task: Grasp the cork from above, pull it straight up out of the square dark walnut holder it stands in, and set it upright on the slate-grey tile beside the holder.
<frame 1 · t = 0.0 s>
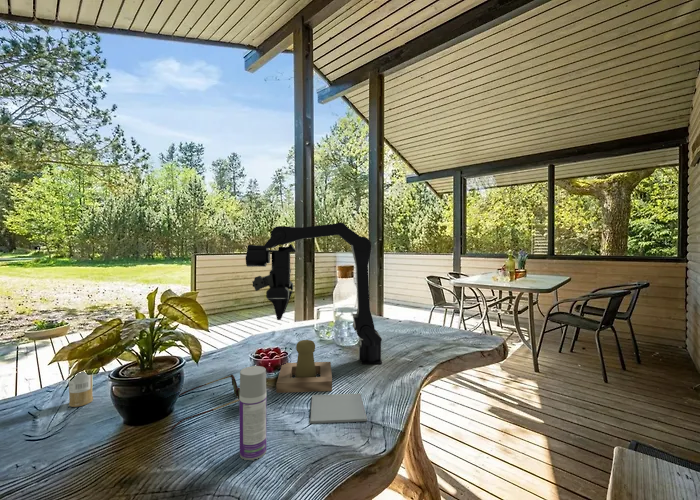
hand: (280, 316, 105), 15 cm above the table, tool pointing down, fingers open, 9 cm apart
holder: (305, 380, 92), on the table
tile: (337, 408, 77), on the table
sprinkles bottle: (80, 403, 79), on the table
cork: (305, 381, 93), resting in holder
sunglasses: (205, 411, 77), on the table
container: (253, 453, 61), on the table
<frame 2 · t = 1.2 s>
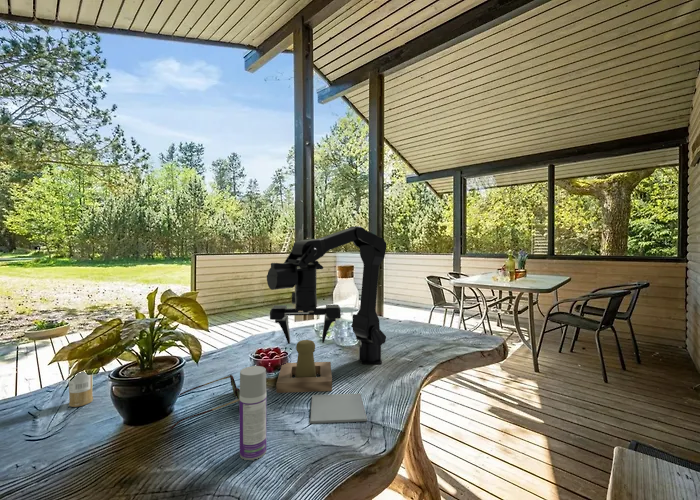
hand: (306, 343, 92), 10 cm above the table, tool pointing down, fingers open, 9 cm apart
nothing on the table moved.
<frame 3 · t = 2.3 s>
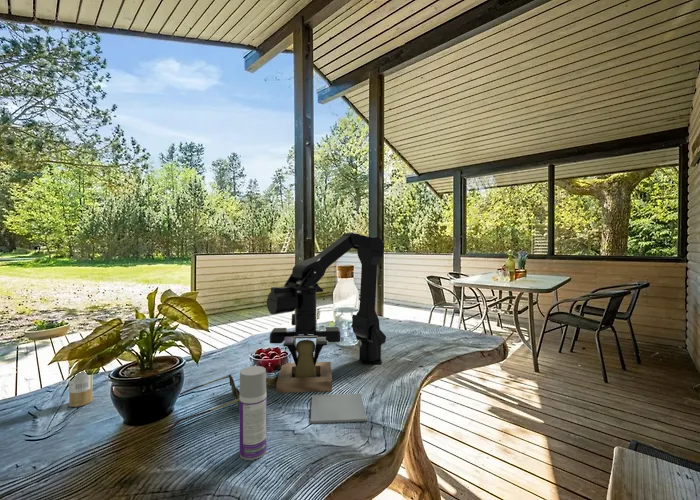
hand: (305, 366, 92), 4 cm above the table, tool pointing down, fingers closed on cork, 4 cm apart
cork: (305, 381, 93), resting in holder, touching gripper
everything else where it was.
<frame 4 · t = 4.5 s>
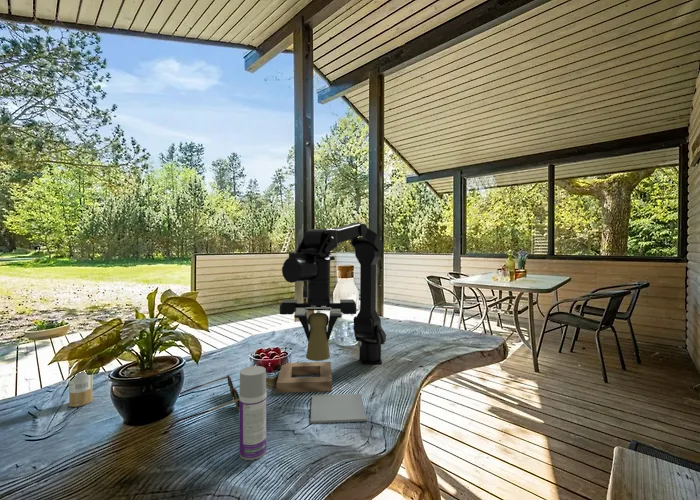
hand: (318, 340, 85), 13 cm above the table, tool pointing down, fingers closed on cork, 4 cm apart
cork: (318, 357, 85), point 9 cm above the table, touching gripper
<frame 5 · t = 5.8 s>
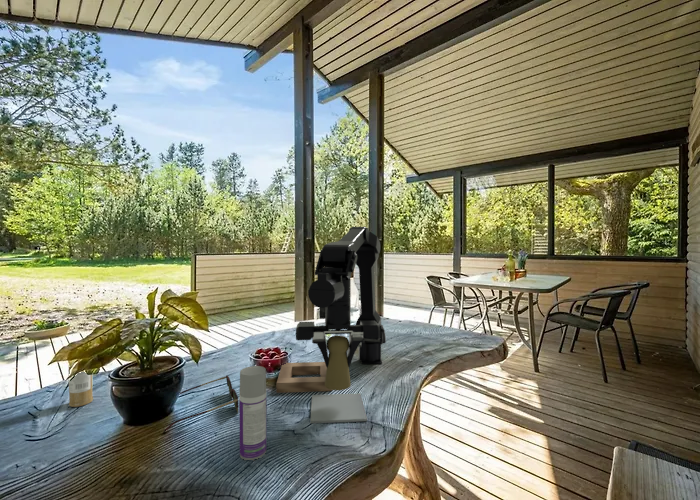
hand: (337, 367, 77), 9 cm above the table, tool pointing down, fingers closed on cork, 4 cm apart
cork: (337, 385, 77), point 5 cm above the table, touching gripper
when the fingers open (5 cm above the table, at t = 6.8 s): cork stays where it is, resting on tile.
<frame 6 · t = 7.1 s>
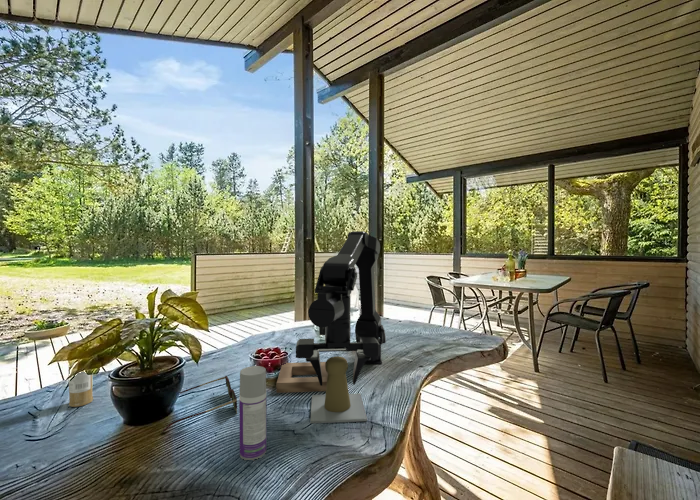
hand: (337, 384, 77), 5 cm above the table, tool pointing down, fingers open, 7 cm apart
cork: (337, 406, 77), resting on tile
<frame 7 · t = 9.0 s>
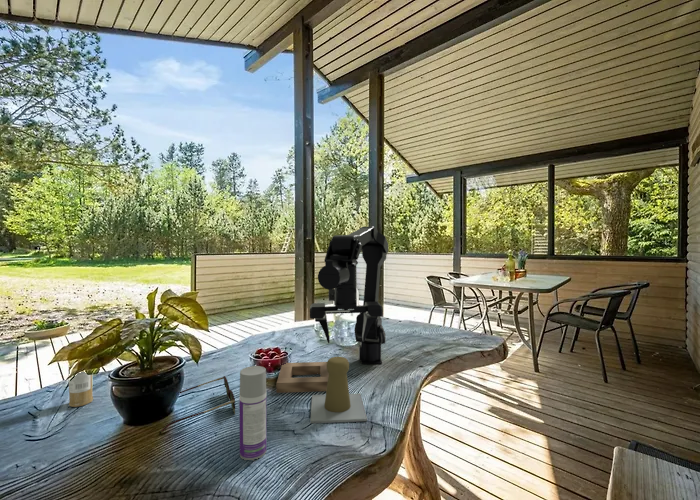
hand: (346, 341, 89), 12 cm above the table, tool pointing down, fingers open, 9 cm apart
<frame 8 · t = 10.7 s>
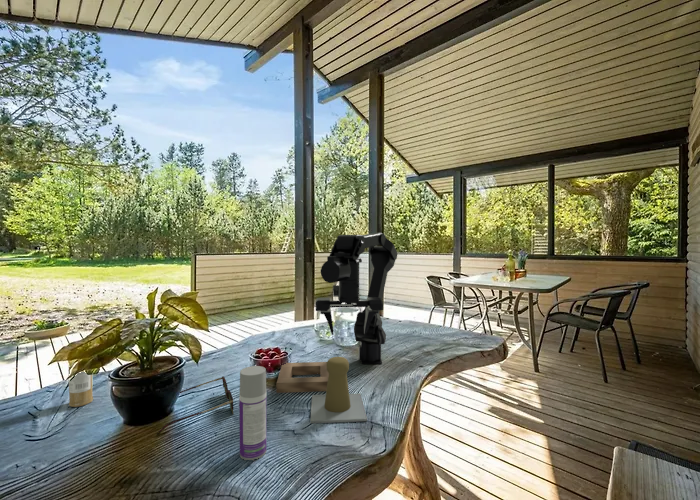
hand: (348, 334, 95), 12 cm above the table, tool pointing down, fingers open, 9 cm apart
at the end: cork inside the target area on the tile (0.1 cm from its centre), point 0.3 cm above the tile's base; cork tilted 0° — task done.
